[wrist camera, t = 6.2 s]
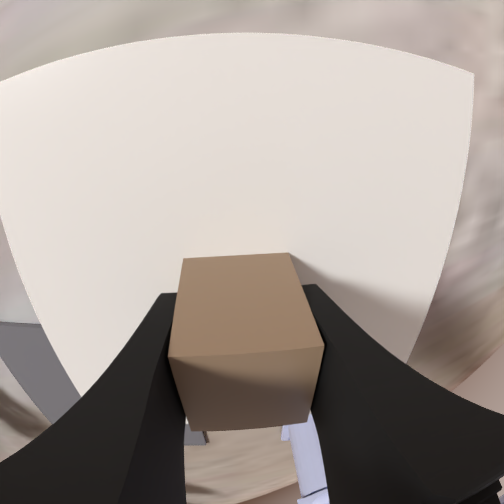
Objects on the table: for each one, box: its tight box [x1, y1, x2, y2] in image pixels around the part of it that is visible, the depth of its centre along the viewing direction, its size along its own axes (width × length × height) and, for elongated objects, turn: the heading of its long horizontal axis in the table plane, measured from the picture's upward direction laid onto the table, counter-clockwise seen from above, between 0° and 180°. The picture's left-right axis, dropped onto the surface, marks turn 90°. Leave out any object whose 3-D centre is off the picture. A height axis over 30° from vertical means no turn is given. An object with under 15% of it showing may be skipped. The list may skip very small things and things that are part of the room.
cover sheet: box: [0, 33, 474, 431], centre depth 9 cm, size 16×16×5 cm
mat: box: [0, 322, 206, 445], centre depth 24 cm, size 18×18×1 cm
